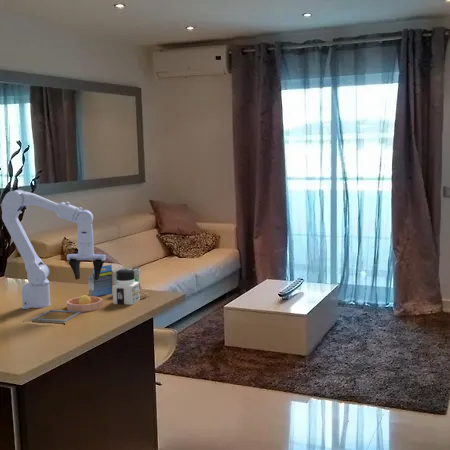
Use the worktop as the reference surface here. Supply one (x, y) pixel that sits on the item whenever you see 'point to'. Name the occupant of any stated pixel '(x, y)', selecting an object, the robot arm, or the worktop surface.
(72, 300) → the bowl
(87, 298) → the ball
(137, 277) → the food container
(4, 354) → the worktop surface
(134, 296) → the container
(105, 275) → the label tape box
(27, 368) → the worktop surface
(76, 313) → the tray
